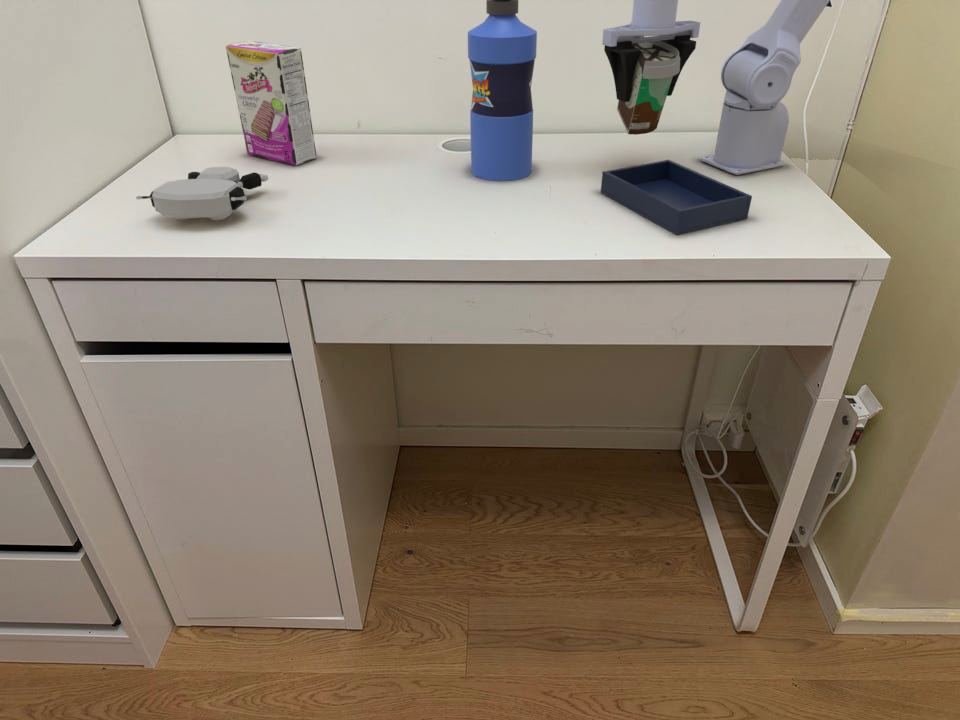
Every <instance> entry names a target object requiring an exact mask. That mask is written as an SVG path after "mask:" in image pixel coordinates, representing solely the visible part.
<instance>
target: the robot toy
mask: <svg viewBox="0 0 960 720" xmlns="http://www.w3.org/2000/svg"><path fill="white" fill-rule="evenodd" d="M239 172H240V171H238V169H237V168H234V167H230V166H211V167H206V168H204V169H203V170H202V171H201V172H199V171H191V172H188V173H187V178H186V179H176V180H170V181H166V182H165V183H163V184H161V185H160V186H157V187H155V188H154V189H153V190H152V191H151V192H150V194H149V195H136V196H135V199H136V200H146V199H150V202H151V206H152V207H153V208H154V210H155V212H157V213H159V214H161V215H162V216H166V217H170V218H171V217H172V218H174V219H176V220H179V221H180V220H181V221H185V220H190V219H198V218H200V219H201V218H209V220H212V221H222V220H226V219H227V218H228V217H230V216H231V215H232V213H233V212H234V211H237V210H238V208H239V207H241V206H242V205H244V203H245V202H246V201H247V195H245V190H244V189H246V190H253V189H256V188H259V187H262V183H265V182H267V181H268V180H269V176H268V175H267V174H262V173H258V172H250V173H247V174H244V175H242V176H241V178H240V173H239Z"/></svg>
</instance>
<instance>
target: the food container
mask: <svg viewBox="0 0 960 720" xmlns="http://www.w3.org/2000/svg"><path fill="white" fill-rule="evenodd" d="M632 46H634V49H637V50H640V51H641V53H640V56H639V58H638V61H637V64H636V68H635V71H634V76H633V82H632V90H631V96H630V100H629V102H623V101H621V100H618V102H617V107H616V111H617V113H618V115H619V117H620V120H621V121H622V124H623V126H624V128H625V131H626V132H627V133H626V134H627V135H635V136H636V135H645V134H650V133H652V132H654V131H655V130H657V128H658V126H659V122H660V119H661V116H662V113H663V109H664V106H665V103H666V100H667V97H668V96H667V94H668V91H669V87H670V84H671V81H672V78H673V76H674V75H676V74H678V73H679V71H680V56H679V51H678V50H677V49H676V48H675V47H673V46H671V45H669V44H667V43H664V42H661V41H650V42H640V43H632Z"/></svg>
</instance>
